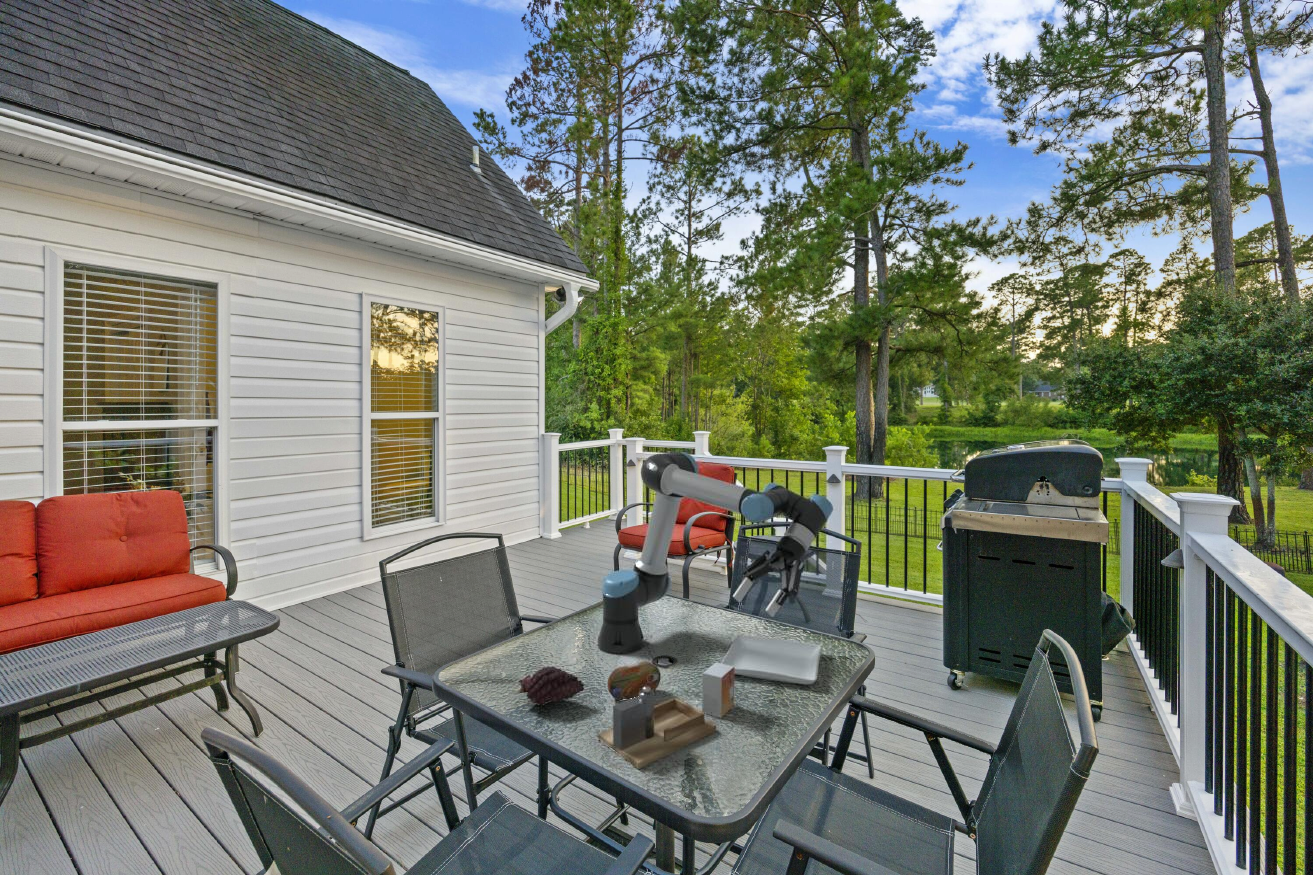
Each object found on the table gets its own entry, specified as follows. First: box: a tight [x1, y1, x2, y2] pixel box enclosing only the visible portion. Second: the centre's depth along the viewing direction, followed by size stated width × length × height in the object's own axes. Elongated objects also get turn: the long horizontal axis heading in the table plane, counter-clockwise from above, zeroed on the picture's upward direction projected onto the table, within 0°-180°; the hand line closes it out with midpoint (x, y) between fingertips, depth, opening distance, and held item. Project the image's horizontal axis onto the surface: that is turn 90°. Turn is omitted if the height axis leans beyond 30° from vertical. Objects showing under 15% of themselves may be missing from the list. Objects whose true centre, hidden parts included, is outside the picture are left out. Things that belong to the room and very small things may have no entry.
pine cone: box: [518, 666, 585, 706], centre depth 157 cm, size 18×10×10 cm, turn 85°
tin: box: [606, 661, 661, 702], centre depth 162 cm, size 15×3×8 cm, turn 117°
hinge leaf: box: [612, 686, 655, 751], centre depth 138 cm, size 4×10×11 cm, turn 130°
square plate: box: [721, 634, 823, 685], centre depth 181 cm, size 27×27×4 cm
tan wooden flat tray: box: [597, 697, 717, 770], centre depth 142 cm, size 15×24×4 cm, turn 130°
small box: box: [701, 662, 735, 719], centre depth 155 cm, size 8×6×10 cm
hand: (752, 606), depth 159 cm, fingers open, 13 cm apart
